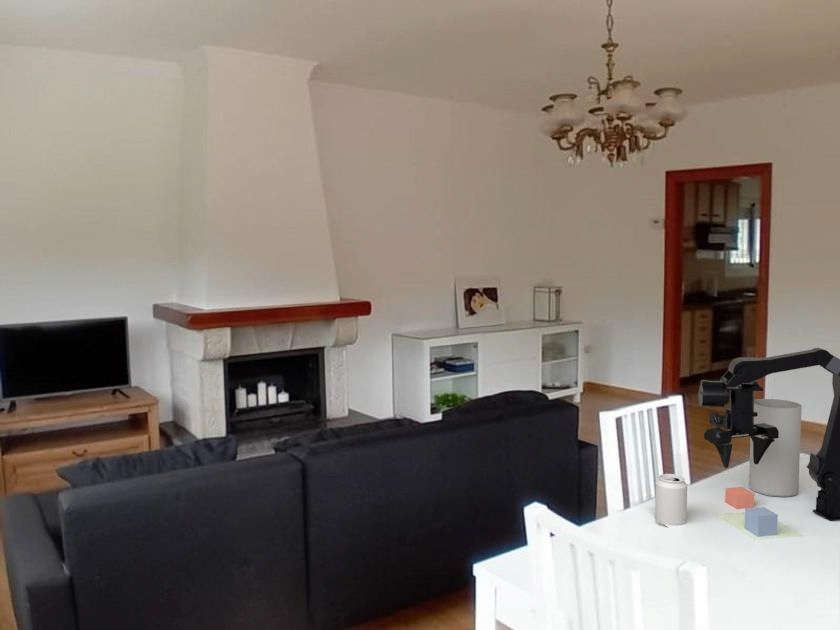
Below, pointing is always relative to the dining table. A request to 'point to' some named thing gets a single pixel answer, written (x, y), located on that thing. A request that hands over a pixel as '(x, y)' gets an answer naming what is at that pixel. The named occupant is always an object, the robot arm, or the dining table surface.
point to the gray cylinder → (777, 449)
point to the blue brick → (761, 521)
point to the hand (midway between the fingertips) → (740, 465)
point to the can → (671, 500)
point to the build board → (739, 523)
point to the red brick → (739, 497)
